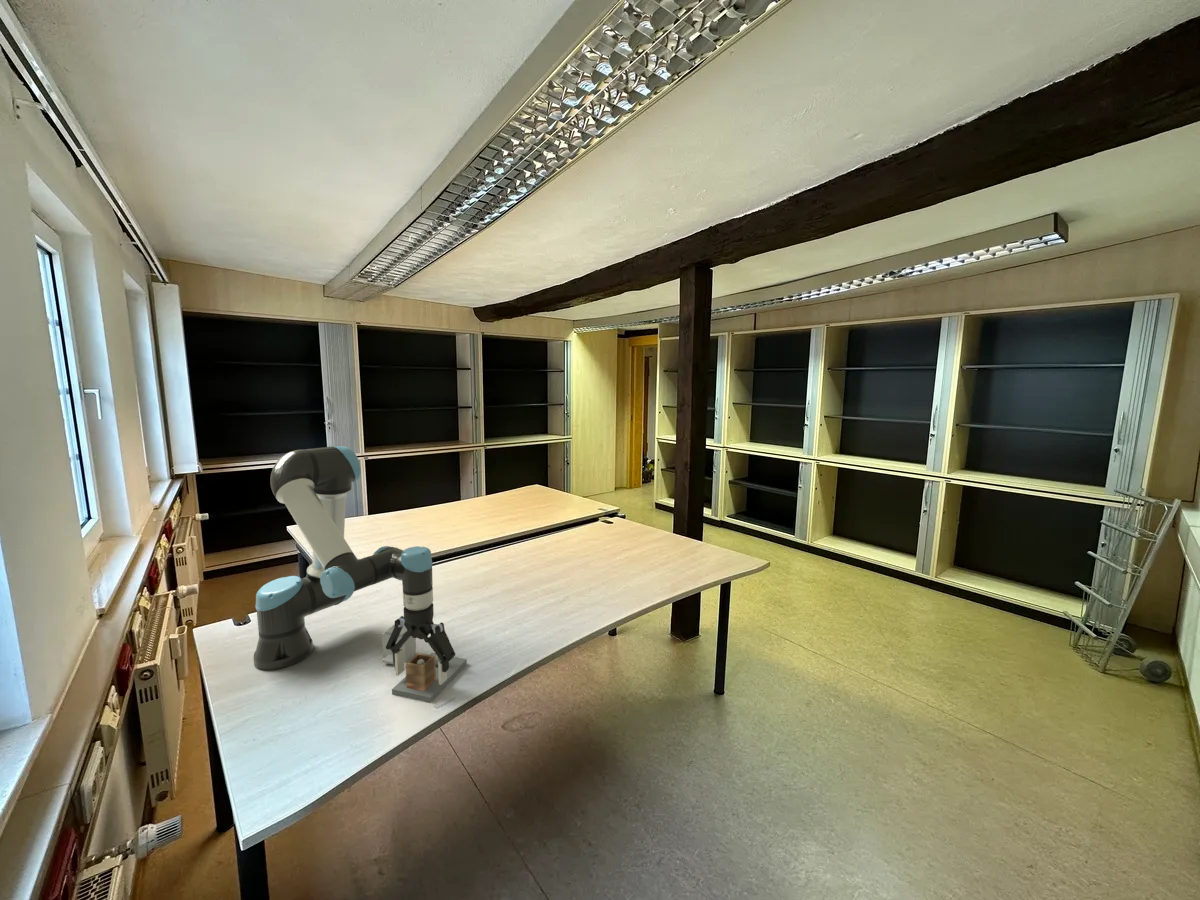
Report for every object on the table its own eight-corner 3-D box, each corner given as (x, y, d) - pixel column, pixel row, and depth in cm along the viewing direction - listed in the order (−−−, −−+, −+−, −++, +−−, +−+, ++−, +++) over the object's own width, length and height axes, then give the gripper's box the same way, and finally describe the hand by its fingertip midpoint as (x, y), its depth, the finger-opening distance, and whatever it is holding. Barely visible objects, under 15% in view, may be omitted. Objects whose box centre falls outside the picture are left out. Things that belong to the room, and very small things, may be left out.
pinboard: (392, 694, 125) (390, 665, 124) (431, 657, 142) (431, 631, 141) (430, 702, 122) (429, 672, 121) (466, 663, 139) (466, 637, 138)
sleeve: (406, 687, 126) (405, 663, 125) (419, 675, 131) (418, 652, 130) (423, 691, 124) (423, 667, 123) (435, 679, 130) (435, 655, 129)
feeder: (376, 663, 139) (374, 636, 138) (394, 649, 146) (393, 623, 145) (398, 668, 137) (397, 640, 136) (416, 653, 144) (415, 626, 143)
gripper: (369, 604, 124) (373, 677, 127) (451, 617, 118) (453, 693, 121) (388, 592, 131) (391, 661, 134) (467, 604, 125) (468, 676, 128)
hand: (421, 677), depth 128 cm, fingers open, 13 cm apart
